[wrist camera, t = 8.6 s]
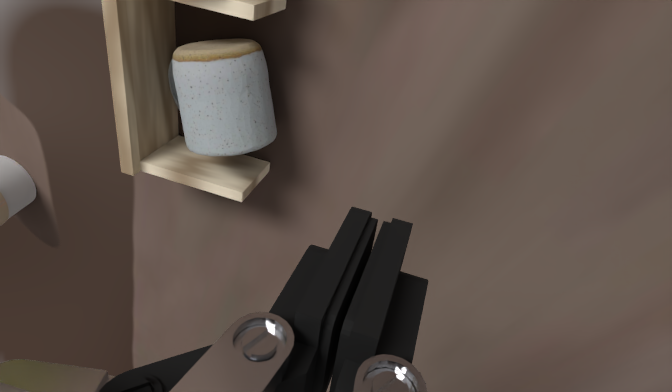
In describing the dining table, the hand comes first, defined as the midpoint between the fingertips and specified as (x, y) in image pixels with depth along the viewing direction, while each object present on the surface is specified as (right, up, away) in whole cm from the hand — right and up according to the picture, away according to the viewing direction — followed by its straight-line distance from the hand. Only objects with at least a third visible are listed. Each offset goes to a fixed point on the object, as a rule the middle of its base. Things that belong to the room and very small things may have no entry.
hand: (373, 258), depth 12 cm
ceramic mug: (-10, +12, +27) cm, 31 cm away
